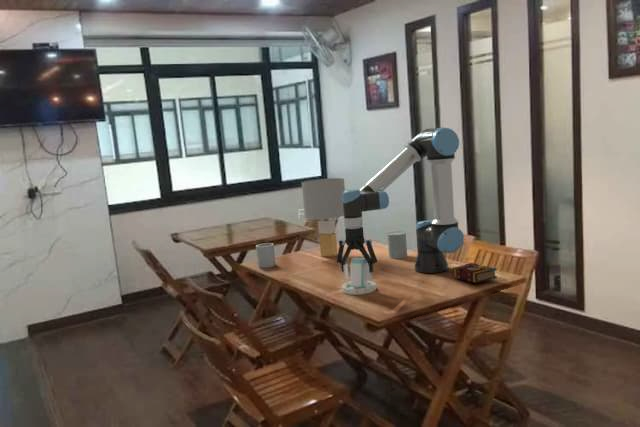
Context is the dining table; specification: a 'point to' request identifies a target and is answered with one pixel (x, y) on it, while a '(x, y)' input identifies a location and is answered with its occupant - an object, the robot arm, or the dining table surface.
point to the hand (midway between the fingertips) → (358, 279)
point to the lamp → (324, 209)
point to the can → (358, 272)
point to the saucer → (358, 291)
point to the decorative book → (474, 272)
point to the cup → (265, 255)
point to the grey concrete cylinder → (397, 245)
